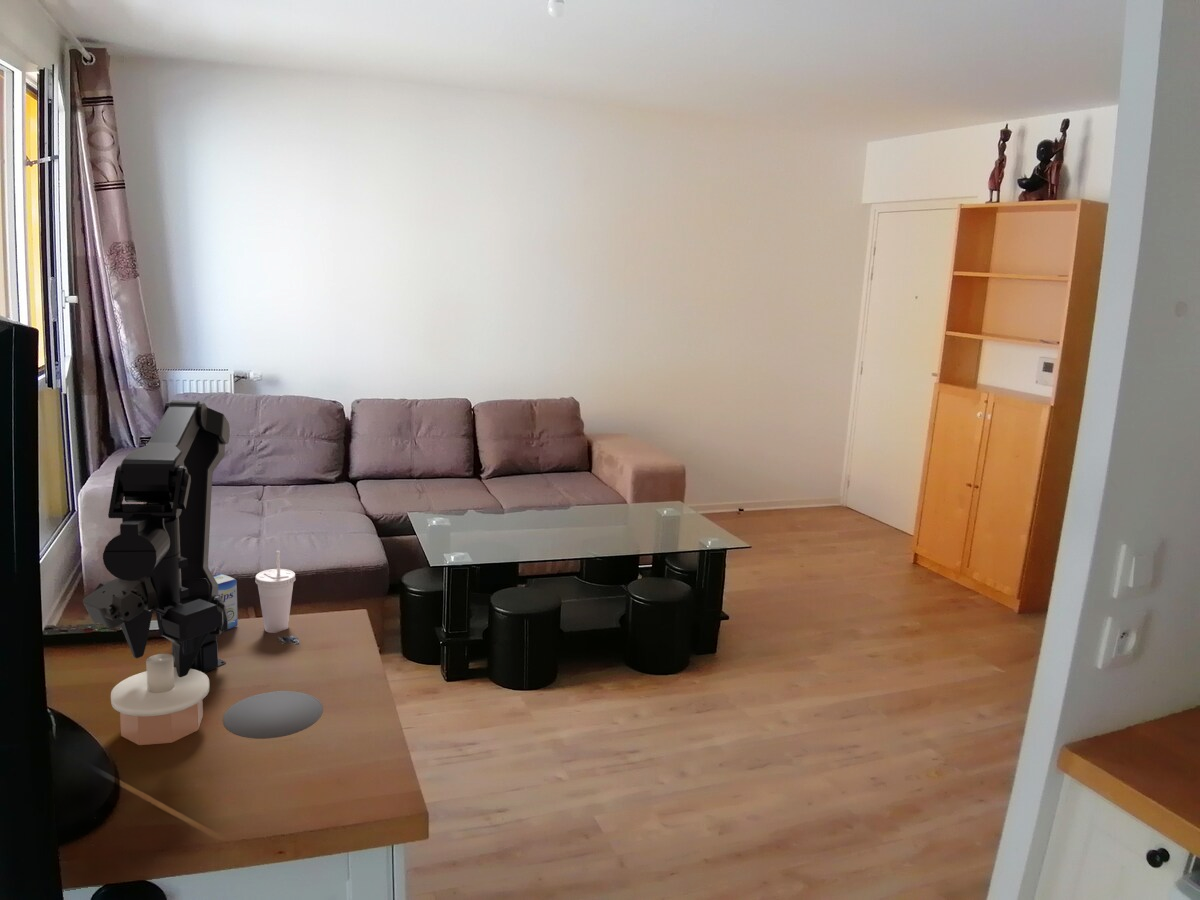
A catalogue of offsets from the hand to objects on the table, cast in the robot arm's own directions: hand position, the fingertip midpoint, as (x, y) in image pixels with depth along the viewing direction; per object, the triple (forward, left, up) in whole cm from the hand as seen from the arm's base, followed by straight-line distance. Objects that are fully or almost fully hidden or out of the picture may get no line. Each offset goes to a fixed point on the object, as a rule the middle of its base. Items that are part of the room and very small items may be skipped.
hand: (160, 666), depth 115 cm
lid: (0, 0, -4) cm, 4 cm away
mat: (+9, +11, -9) cm, 17 cm away
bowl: (0, 0, -9) cm, 9 cm away
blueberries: (-8, +27, -10) cm, 30 cm away
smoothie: (-14, +31, -9) cm, 35 cm away
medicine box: (-22, +24, -9) cm, 34 cm away
